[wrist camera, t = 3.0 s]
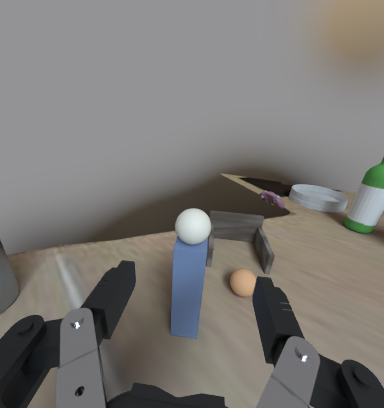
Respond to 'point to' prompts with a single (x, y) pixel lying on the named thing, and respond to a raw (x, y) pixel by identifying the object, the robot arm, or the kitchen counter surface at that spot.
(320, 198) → the dish
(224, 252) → the kitchen counter surface
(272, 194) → the video game controller
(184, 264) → the figure
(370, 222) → the wine bottle
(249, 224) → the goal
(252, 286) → the ball
